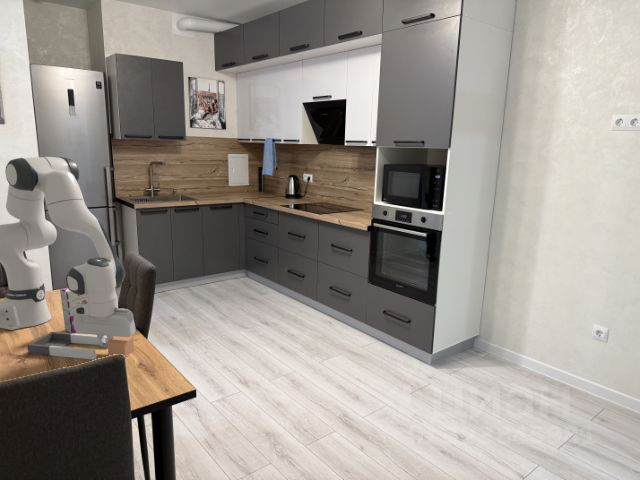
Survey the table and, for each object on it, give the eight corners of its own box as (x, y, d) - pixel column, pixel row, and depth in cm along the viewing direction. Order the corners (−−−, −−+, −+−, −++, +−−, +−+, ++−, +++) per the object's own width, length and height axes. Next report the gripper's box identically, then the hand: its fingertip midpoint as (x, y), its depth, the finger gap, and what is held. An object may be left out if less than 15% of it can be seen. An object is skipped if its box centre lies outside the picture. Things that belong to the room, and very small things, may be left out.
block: (108, 356, 147) (107, 342, 146) (117, 349, 152) (116, 335, 151) (125, 357, 146) (124, 343, 145) (134, 351, 151) (133, 337, 150)
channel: (49, 355, 147) (48, 346, 146) (73, 341, 158) (72, 333, 157) (94, 359, 145) (93, 350, 144) (114, 345, 155) (114, 337, 155)
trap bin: (28, 353, 148) (27, 344, 148) (52, 339, 159) (52, 331, 158) (49, 355, 147) (48, 346, 146) (73, 341, 158) (72, 333, 157)
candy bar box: (92, 321, 176) (88, 281, 172) (100, 324, 173) (96, 283, 170) (63, 331, 166) (59, 288, 163) (71, 334, 164) (66, 291, 160)
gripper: (137, 306, 148) (140, 345, 151) (81, 301, 151) (85, 340, 154) (126, 312, 142) (130, 353, 145) (68, 308, 145) (73, 348, 148)
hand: (106, 346), depth 149 cm, fingers closed
